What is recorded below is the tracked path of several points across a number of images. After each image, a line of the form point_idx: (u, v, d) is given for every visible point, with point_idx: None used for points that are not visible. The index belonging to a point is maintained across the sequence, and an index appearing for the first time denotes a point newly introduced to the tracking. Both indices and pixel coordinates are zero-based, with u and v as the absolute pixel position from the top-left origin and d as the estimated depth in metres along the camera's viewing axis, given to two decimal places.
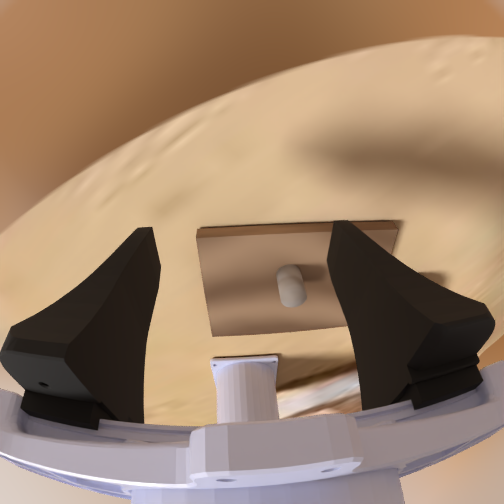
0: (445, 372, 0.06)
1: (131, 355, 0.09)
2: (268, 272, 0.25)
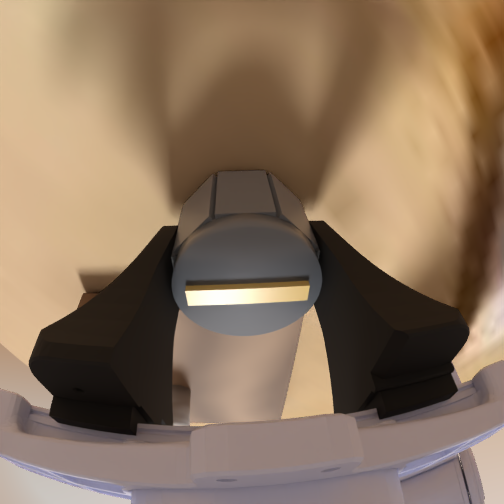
0: (414, 381, 0.06)
1: (162, 356, 0.09)
2: None
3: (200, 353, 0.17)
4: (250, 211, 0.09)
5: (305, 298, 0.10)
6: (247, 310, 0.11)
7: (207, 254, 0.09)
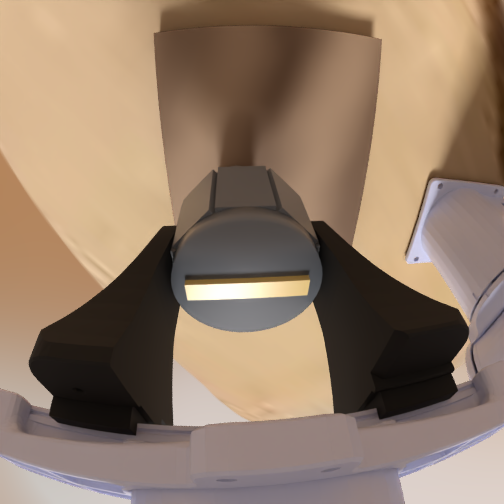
0: (414, 381, 0.06)
1: (162, 356, 0.09)
2: None
3: (279, 94, 0.15)
4: (250, 205, 0.09)
5: (305, 293, 0.10)
6: (247, 305, 0.11)
7: (207, 247, 0.09)
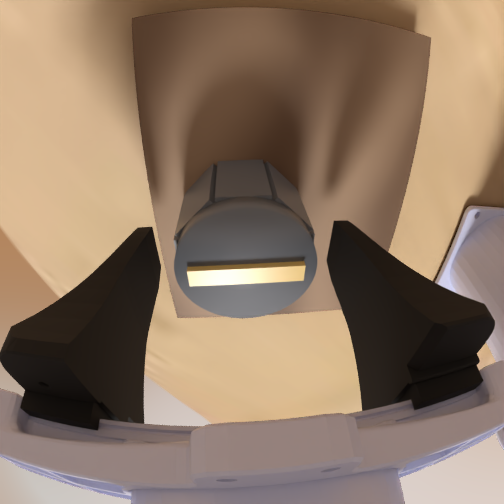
0: (445, 372, 0.06)
1: (131, 355, 0.09)
2: None
3: (301, 103, 0.11)
4: (247, 194, 0.10)
5: (301, 278, 0.11)
6: (246, 291, 0.11)
7: (207, 235, 0.10)
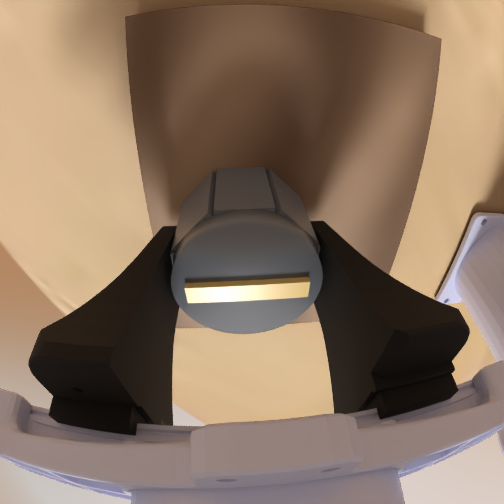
0: (414, 381, 0.06)
1: (162, 356, 0.09)
2: None
3: (306, 107, 0.10)
4: (249, 207, 0.09)
5: (306, 295, 0.10)
6: (247, 307, 0.11)
7: (206, 251, 0.09)
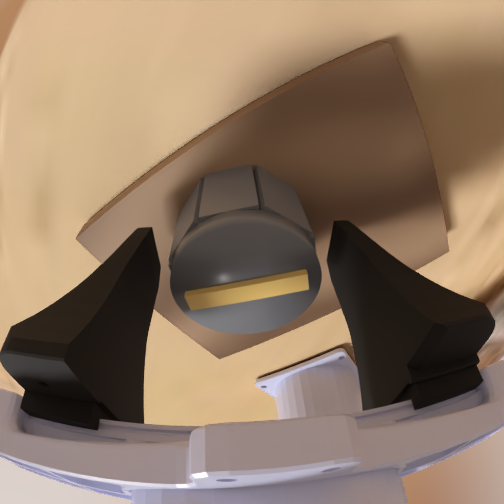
0: (445, 372, 0.06)
1: (131, 355, 0.09)
2: None
3: (366, 208, 0.13)
4: (232, 208, 0.09)
5: (306, 287, 0.10)
6: (251, 307, 0.11)
7: (197, 258, 0.09)
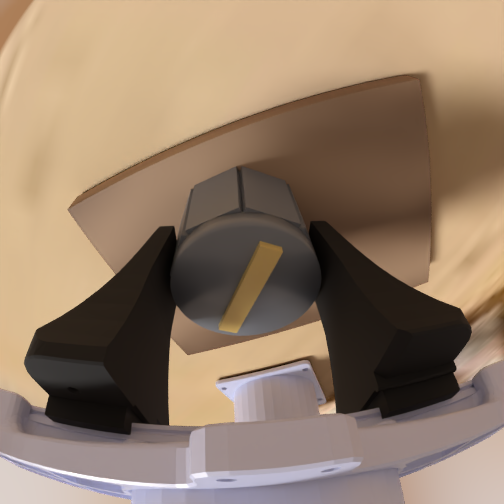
0: (417, 380, 0.06)
1: (158, 356, 0.09)
2: None
3: (362, 229, 0.14)
4: (176, 251, 0.10)
5: (278, 253, 0.09)
6: (273, 296, 0.10)
7: (190, 303, 0.10)
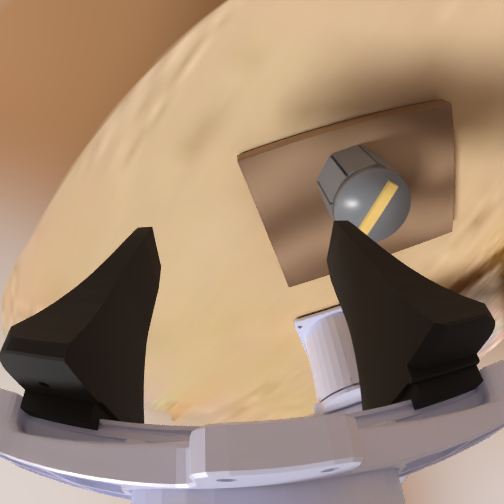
0: (445, 372, 0.06)
1: (131, 355, 0.09)
2: None
3: (416, 189, 0.21)
4: (338, 186, 0.17)
5: (396, 186, 0.16)
6: (386, 215, 0.17)
7: (344, 217, 0.17)
